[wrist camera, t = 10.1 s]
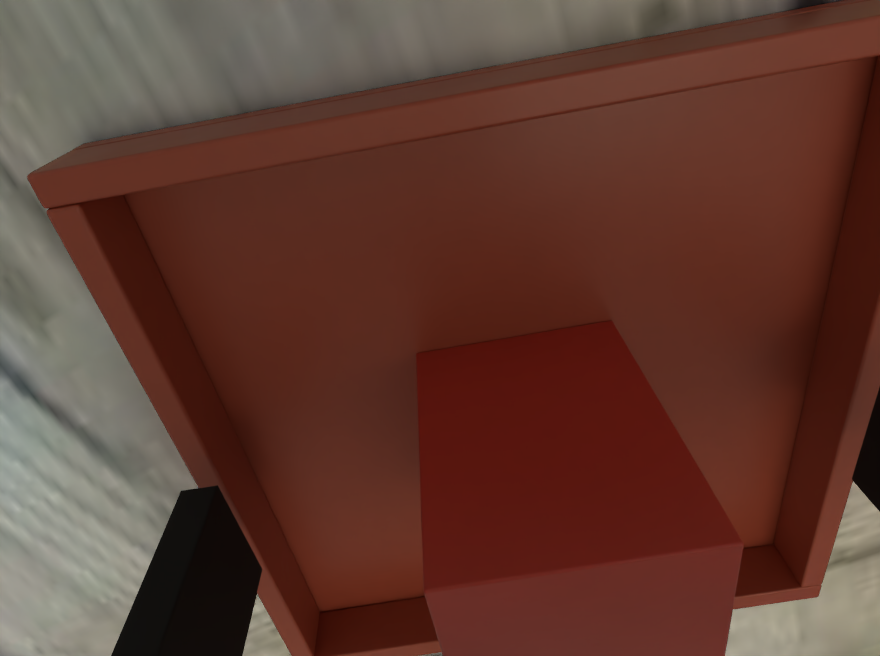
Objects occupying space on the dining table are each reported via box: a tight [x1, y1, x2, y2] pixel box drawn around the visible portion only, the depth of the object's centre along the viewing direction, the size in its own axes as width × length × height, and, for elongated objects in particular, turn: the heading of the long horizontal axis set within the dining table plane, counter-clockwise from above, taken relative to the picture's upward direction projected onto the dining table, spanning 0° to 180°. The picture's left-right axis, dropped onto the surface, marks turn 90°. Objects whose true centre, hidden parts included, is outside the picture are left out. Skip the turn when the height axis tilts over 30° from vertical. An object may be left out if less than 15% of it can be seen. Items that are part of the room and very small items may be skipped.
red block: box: [416, 321, 744, 656], centre depth 12 cm, size 4×4×6 cm
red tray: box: [27, 0, 880, 656], centre depth 14 cm, size 15×15×2 cm
